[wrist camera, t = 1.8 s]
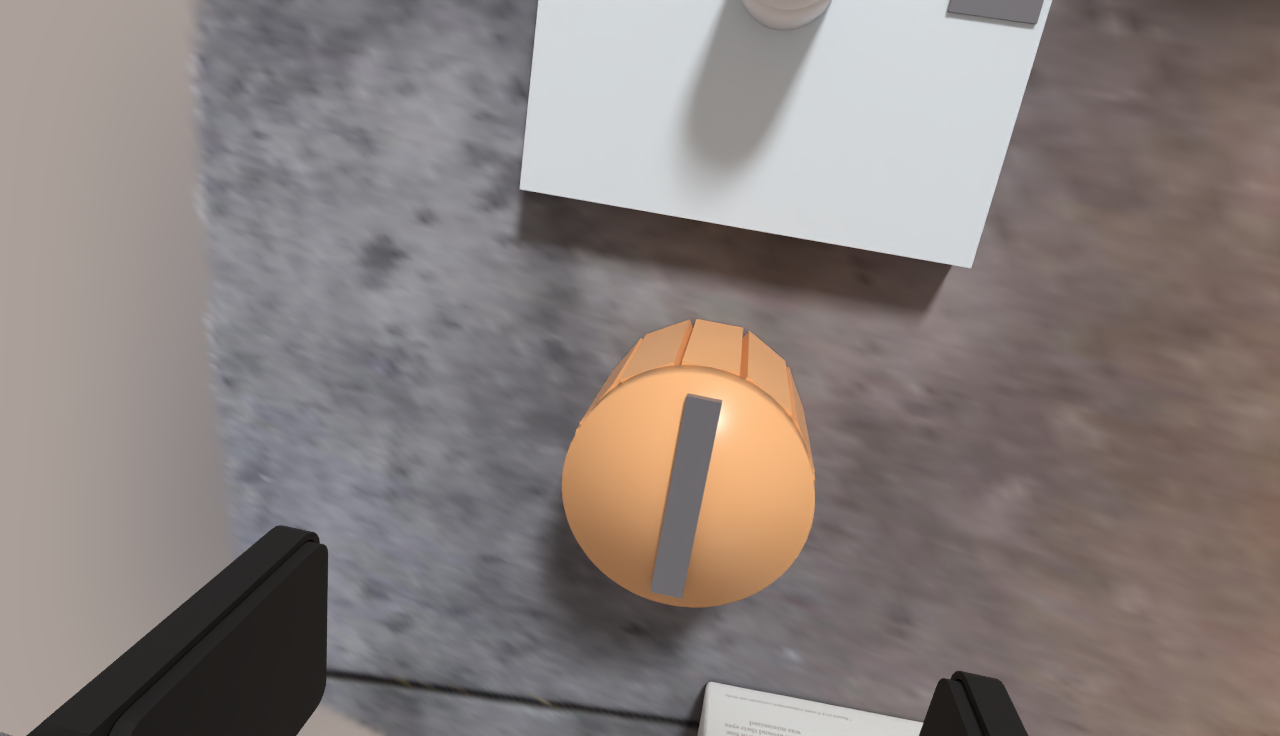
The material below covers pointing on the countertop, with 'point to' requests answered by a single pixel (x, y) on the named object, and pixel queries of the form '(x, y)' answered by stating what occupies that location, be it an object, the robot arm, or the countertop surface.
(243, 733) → the robot arm
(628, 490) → the cap
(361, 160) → the countertop surface
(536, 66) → the knob base plate
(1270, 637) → the countertop surface
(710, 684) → the small box
